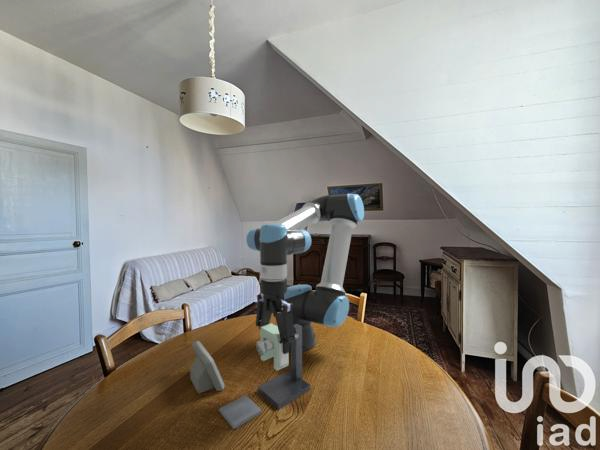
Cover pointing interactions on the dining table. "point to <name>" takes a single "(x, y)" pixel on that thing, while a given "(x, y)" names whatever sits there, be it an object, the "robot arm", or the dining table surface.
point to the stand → (285, 374)
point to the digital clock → (204, 371)
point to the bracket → (272, 335)
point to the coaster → (239, 411)
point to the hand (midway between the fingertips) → (274, 357)
